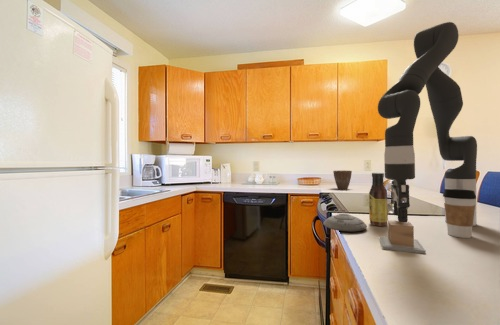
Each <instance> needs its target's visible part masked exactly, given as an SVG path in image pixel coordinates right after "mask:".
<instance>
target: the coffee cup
mask: <svg viewBox="0 0 500 325" xmlns="http://www.w3.org/2000/svg"><path fill="white" fill-rule="evenodd" d="M442 197H444V204H443V206H444V211H445V214H446V222H445V223H446V228H447V235H448V236H451V237H455V238H460V239H470V238H472V236H473V227H474V226H473V219H474V211H475V205H474V203H475V199H476V200H477V194H476V195H475V192H474V191H472V190H462V189H445V188H444V191H443V193H442ZM445 214H444V215H445Z"/></svg>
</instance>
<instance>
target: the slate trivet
mask: <svg viewBox="0 0 500 325" xmlns="http://www.w3.org/2000/svg"><path fill="white" fill-rule="evenodd" d="M379 240H380V246H381V249H382V250H388V251H389V250H390V251H395V252H396V251H397V252H406V253H413V254H415V253H416V254H425V255H426V250H425V248H424V247H423V245H422V244H421V242H420V241H419V240H418V239H415V238H414V246H404V245H394V244H391V243H390V241H389V239H388V236H381V235H380V236H379Z"/></svg>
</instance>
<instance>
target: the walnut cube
mask: <svg viewBox="0 0 500 325" xmlns="http://www.w3.org/2000/svg"><path fill="white" fill-rule="evenodd" d="M387 227H388V228H387V232H388V233H387V234H388V235H387V237H388V239H389V241H390V243H391V244H394V245H404V246H414V239H415V237H414V232H415V231H414V230H415V228H414V225H413V224H412V222H410V221H407V222H399V221H398V220H390V219H388V221H387Z"/></svg>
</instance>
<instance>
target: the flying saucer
mask: <svg viewBox="0 0 500 325" xmlns="http://www.w3.org/2000/svg"><path fill="white" fill-rule="evenodd" d="M322 225H323V226H324V227H326V228H328V229H330V230H334V231H337V232H338V231H340V232H361V231H363V230H366V229H367V227H368V226H367V224H366V223H365V221H363V220H362V219H361V218H360V217H357V216H353V215H351V214H347V213H339V214H338V213H337V214H335V215H332V216H329V217H328V218H326V219H325V220H324V221H323V223H322Z"/></svg>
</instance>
